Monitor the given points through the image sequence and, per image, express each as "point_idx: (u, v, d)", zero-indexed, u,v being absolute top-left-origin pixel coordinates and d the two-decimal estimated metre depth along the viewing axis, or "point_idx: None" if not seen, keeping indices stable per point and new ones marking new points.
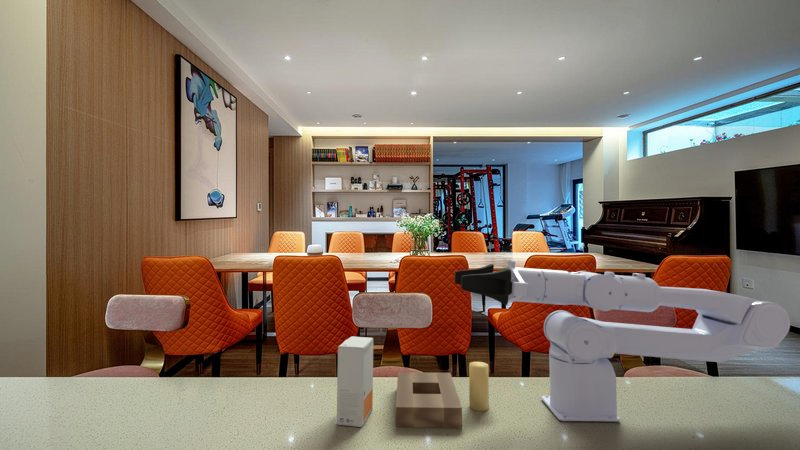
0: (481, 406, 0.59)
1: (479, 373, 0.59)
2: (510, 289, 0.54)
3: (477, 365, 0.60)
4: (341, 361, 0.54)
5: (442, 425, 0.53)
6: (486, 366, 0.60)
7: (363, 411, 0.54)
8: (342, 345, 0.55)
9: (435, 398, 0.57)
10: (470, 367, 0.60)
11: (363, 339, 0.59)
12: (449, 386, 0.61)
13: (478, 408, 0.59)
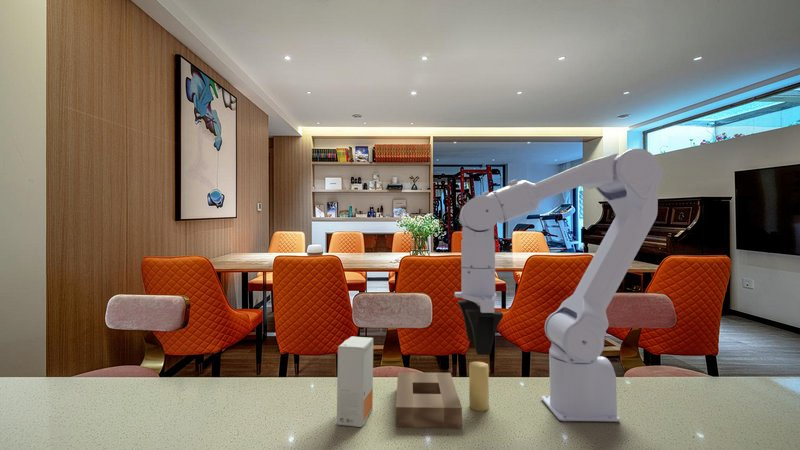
0: (481, 406, 0.59)
1: (479, 373, 0.59)
2: (487, 312, 0.55)
3: (477, 365, 0.60)
4: (341, 361, 0.54)
5: (442, 425, 0.53)
6: (486, 366, 0.60)
7: (363, 411, 0.54)
8: (342, 345, 0.55)
9: (435, 398, 0.57)
10: (470, 367, 0.60)
11: (363, 339, 0.59)
12: (449, 386, 0.61)
13: (478, 408, 0.59)
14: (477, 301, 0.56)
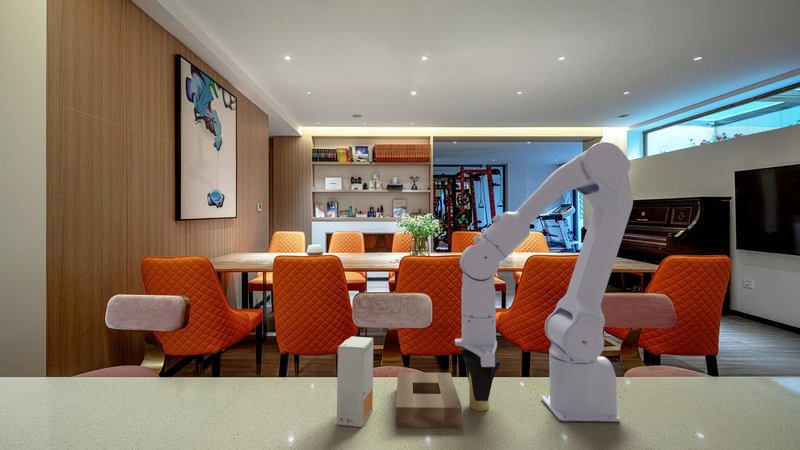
0: (481, 406, 0.59)
1: None
2: None
3: None
4: (341, 361, 0.54)
5: (442, 425, 0.53)
6: None
7: (363, 411, 0.54)
8: (342, 345, 0.55)
9: (435, 398, 0.57)
10: None
11: (363, 339, 0.59)
12: (449, 386, 0.61)
13: (478, 408, 0.59)
14: (477, 353, 0.55)
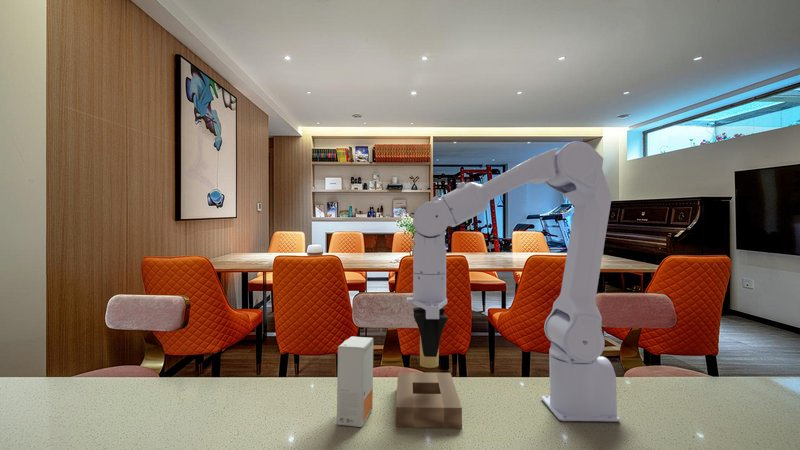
0: (430, 363, 0.59)
1: None
2: None
3: None
4: (341, 361, 0.54)
5: (442, 425, 0.53)
6: None
7: (363, 411, 0.54)
8: (342, 345, 0.55)
9: (435, 398, 0.57)
10: None
11: (363, 339, 0.59)
12: (449, 386, 0.61)
13: (427, 365, 0.59)
14: (424, 307, 0.56)
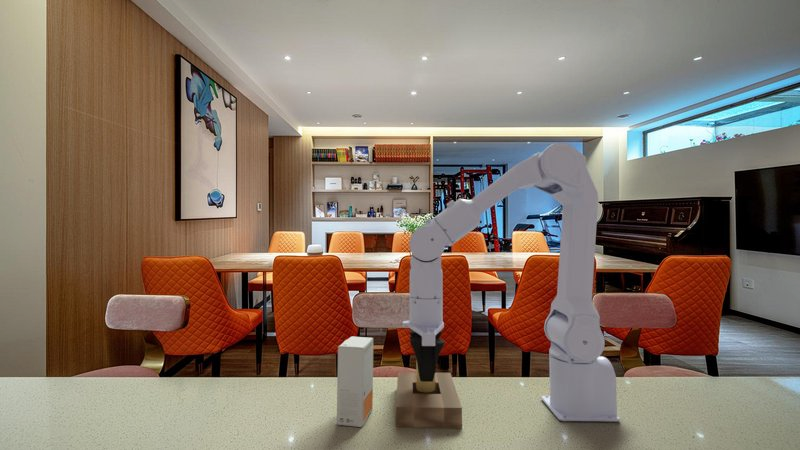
0: (426, 387, 0.59)
1: None
2: None
3: None
4: (341, 361, 0.54)
5: (442, 425, 0.53)
6: None
7: (363, 411, 0.54)
8: (342, 345, 0.55)
9: (435, 398, 0.57)
10: None
11: (363, 339, 0.59)
12: (449, 386, 0.61)
13: (423, 389, 0.59)
14: (420, 333, 0.55)
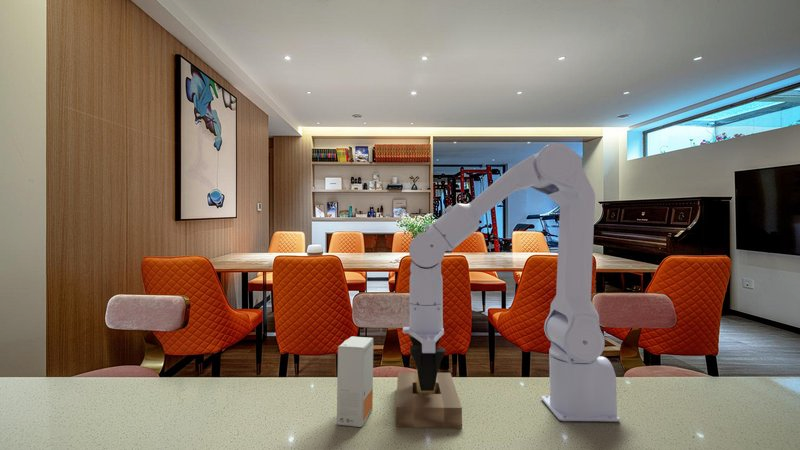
0: None
1: None
2: None
3: None
4: (341, 361, 0.54)
5: (442, 425, 0.53)
6: None
7: (363, 411, 0.54)
8: (342, 345, 0.55)
9: (435, 398, 0.57)
10: None
11: (363, 339, 0.59)
12: (449, 386, 0.61)
13: None
14: (420, 340, 0.55)
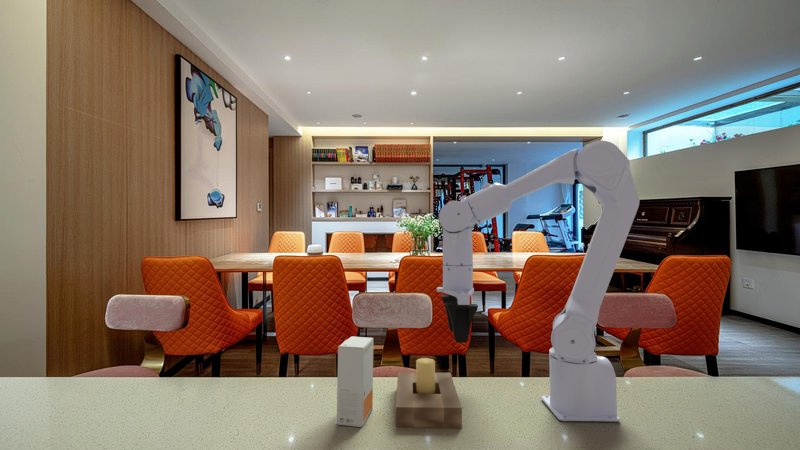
0: None
1: (425, 370, 0.59)
2: (464, 304, 0.62)
3: (423, 362, 0.60)
4: (341, 361, 0.54)
5: (442, 425, 0.53)
6: (432, 362, 0.60)
7: (363, 411, 0.54)
8: (342, 345, 0.55)
9: (435, 398, 0.57)
10: (416, 364, 0.60)
11: (363, 339, 0.59)
12: (449, 386, 0.61)
13: None
14: (455, 295, 0.63)
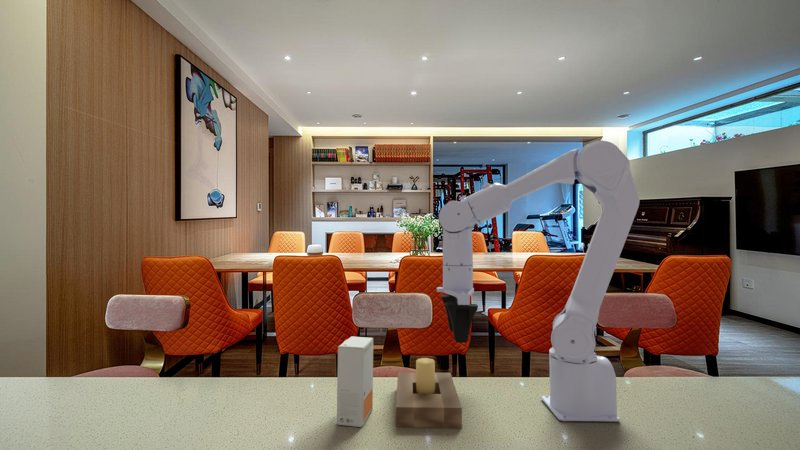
0: None
1: (425, 370, 0.59)
2: (464, 304, 0.62)
3: (423, 362, 0.60)
4: (341, 361, 0.54)
5: (442, 425, 0.53)
6: (432, 362, 0.60)
7: (363, 411, 0.54)
8: (342, 345, 0.55)
9: (435, 398, 0.57)
10: (416, 364, 0.60)
11: (363, 339, 0.59)
12: (449, 386, 0.61)
13: None
14: (455, 295, 0.63)
